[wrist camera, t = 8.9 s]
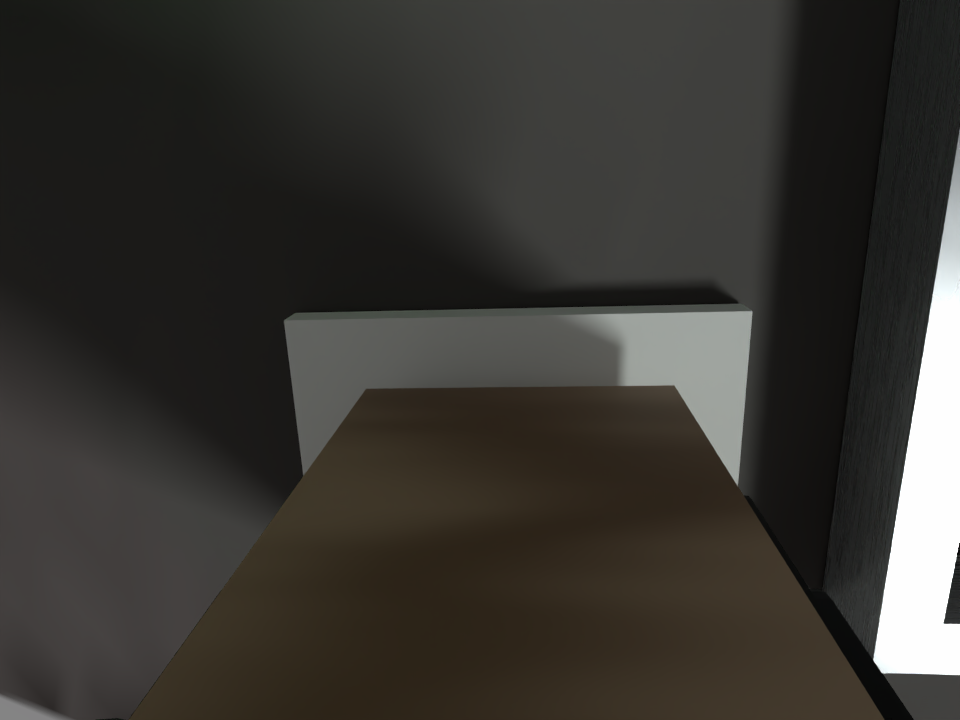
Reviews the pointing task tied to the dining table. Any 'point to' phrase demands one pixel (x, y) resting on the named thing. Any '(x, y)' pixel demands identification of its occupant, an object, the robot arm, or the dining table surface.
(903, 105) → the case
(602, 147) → the dining table surface
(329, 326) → the mat
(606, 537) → the block
